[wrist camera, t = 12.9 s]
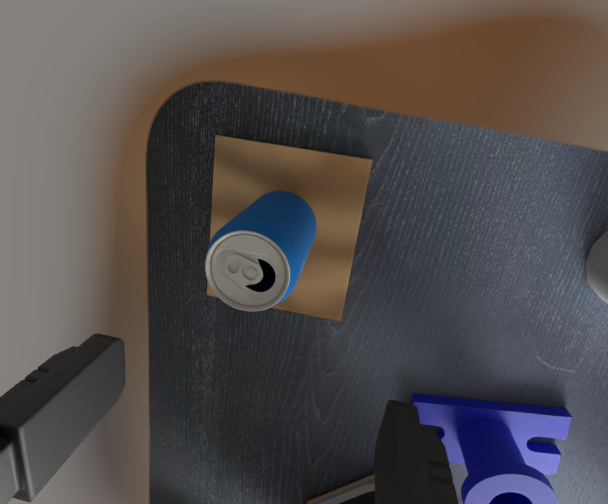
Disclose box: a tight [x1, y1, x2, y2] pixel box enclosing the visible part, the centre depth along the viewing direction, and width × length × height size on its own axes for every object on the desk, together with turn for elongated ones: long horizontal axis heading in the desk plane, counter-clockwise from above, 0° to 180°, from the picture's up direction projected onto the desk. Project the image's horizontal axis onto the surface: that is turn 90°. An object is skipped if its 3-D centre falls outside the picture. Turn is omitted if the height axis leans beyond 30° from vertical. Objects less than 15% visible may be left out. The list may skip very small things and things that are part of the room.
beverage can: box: [205, 191, 317, 311], centre depth 30 cm, size 6×6×12 cm
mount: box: [411, 394, 572, 504], centre depth 37 cm, size 15×8×9 cm, turn 90°
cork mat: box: [207, 135, 372, 321], centre depth 37 cm, size 16×14×1 cm
